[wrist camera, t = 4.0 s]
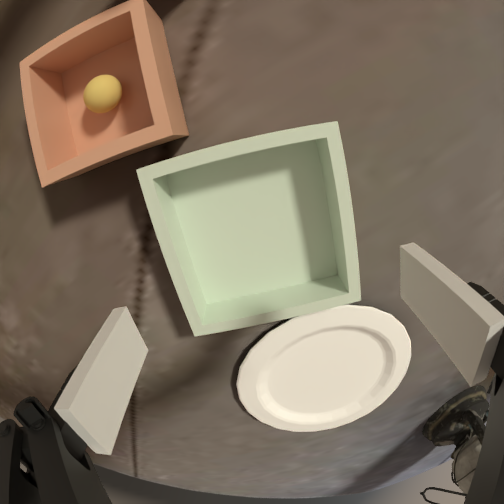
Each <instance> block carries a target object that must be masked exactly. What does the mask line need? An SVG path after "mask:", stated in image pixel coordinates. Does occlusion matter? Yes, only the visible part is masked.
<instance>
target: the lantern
mask: <svg viewBox="0 0 504 504" xmlns="http://www.w3.org/2000/svg"><path fill="white" fill-rule="evenodd" d="M486 397H487V395H486V391H485V388H484V387H483V386H474V387H471V388H469V389H466V390H464V391H463V392H461V393H459V394H458V395H456V396H454V397H453V398H452V399H450V400H449V401H448V402H446V403H445V404H444V405H443V406H442V407H441V408H439V409H438V410H437V411H436V412H435V413H434V414H433V415H432V416H431V418H430V419H429V420H428V421H427V423H426V424H425V426H424V429H423V435H424V436H425V437H426V438H428V439H429V440H431V441H433V443H434V445H435V446H445V445H451V444H454V445H456V448H455V450H454V452H453V453H452V455H451V458H452V459H454V461H453V463H452V473H451V476H452V481H453V483H455V484H456V485H457V486H459V488H460V489H461V490H462V491H463V493H459V492H454V491H449V490H445V489H440V488H435V487H429V488H426V489H425V490H424V492H421V493H420V494H421V495H423V497H424V499H425V500H426V501H427V502H429V503H431V504H438V503H434V502H431V501H429V500H427V499H426V497H425V495H424V493H425V492H426V490H429V489H434V490H440V491H444V492H448V493H453V494H458V495H463V496H467V494H468V491H469V488H470V485H471V482H472V479H473V476H474V472H475V469H476V465H477V462H478V458H479V454H480V451H481V446H482V442H483V438H484V433H485V428H486V427H485V425H484V423H485V422H486V421H487V418H488V412H489V410H488V408H489V403H488V401H487V400H486ZM453 474H454V479H453ZM454 480H455V481H454ZM457 483H458V484H457ZM465 499H466V497H465Z"/></svg>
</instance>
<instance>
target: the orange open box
mask: <svg viewBox="0 0 504 504" xmlns="http://www.w3.org/2000/svg"><path fill="white" fill-rule="evenodd" d="M20 74H21V84H22V93H23V101H24V107H25V114H26V120H27V125H28V131H29V136H30V141H31V146H32V150H33V154H34V159H35V163H36V167H37V171H38V174H39V178H40V182H41V185H42V188H43V187H45V186H48V185H51V184H54V183H57V182H60V181H63V180H66V179H69V178H73V177H76V176H79V175H81V174H83V173H85V172H88V171H90V170H93V169H95V168H97V167H100V166H102V165H105V164H107V163H110V162H112V161H115V160H118V159H120V158H123V157H126V156H128V155H131V154H134V153H137V152H139V151H142V150H145V149H148V148H151V147H154V146H157V145H160V144H163V143H166V142H169V141H173V140H176V139H179V138H182V137H186V136H189V132H188V128H187V124H186V120H185V116H184V112H183V108H182V104H181V100H180V96H179V92H178V88H177V84H176V79H175V75H174V71H173V67H172V63H171V58H170V54H169V50H168V45H167V41H166V36H165V32H164V27H163V23H162V20H161V19H160V17H159V16H158V15H157V14H156V12H155V11H154V10H153V8H152V7H151V6H150V5H149V3H148V2H147V1H146V0H129V1H126V2H124V3H121V4H119V5H117V6H115V7H112V8H110V9H108V10H106V11H104V12H102V13H100V14H98V15H96V16H94V17H92V18H90V19H88V20H86V21H84V22H82V23H80V24H78V25H77V26H75V27H73V28H71V29H70V30H68V31H66V32H64V33H63V34H61V35H59V36H58V37H56V38H55V39H53V40H51V41H50V42H48V43H47V44H45V45H44V46H42V47H41V48H39V49H38V50H36V51H35V52H33V53H32V54H31V55H29V56H28V57H26V58H25V59H24V60H22V61H21V62H20ZM100 75H111V76H113V77H115V78H117V79H118V81H119V82H120V84H121V86H122V97H121V99H120V102H119V103H118V104H117V106H116V107H115V108H113V109H112V110H111V111H109V112H106V113H95V112H92V111H91V110H89V109H88V108H87V107H86V105H85V103H84V100H83V94H84V90H85V87H86V86H87V84H88V83H89V82H90V81H91V80H92V79H93V78H95V77H97V76H100Z"/></svg>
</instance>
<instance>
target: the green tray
mask: <svg viewBox="0 0 504 504" xmlns="http://www.w3.org/2000/svg"><path fill="white" fill-rule="evenodd" d="M136 171H137V175H138V178H139V182H140V185H141V189H142V192H143V195H144V199H145V202H146V205H147V208H148V211H149V214H150V218H151V221H152V224H153V227H154V230H155V233H156V236H157V239H158V242H159V245H160V247H161V250H162V253H163V256H164V259H165V262H166V264H167V267H168V270H169V273H170V275H171V278H172V281H173V283H174V286H175V289H176V291H177V294H178V296H179V299H180V302H181V304H182V307H183V309H184V312H185V314H186V317H187V319H188V322H189V324H190V326H191V329H192V331H193V334H194V336H201V335H207V334H212V333H218V332H224V331H229V330H234V329H240V328H245V327H250V326H255V325H260V324H265V323H269V322H274V321H279V320H283V319H288V318H292V317H297V316H301V315H305V314H310V313H314V312H318V311H322V310H326V309H330V308H334V307H338V306H342V305H346V304H350V303H353V302H357V301H361V292H360V277H359V264H358V253H357V243H356V233H355V225H354V216H353V209H352V201H351V194H350V188H349V181H348V175H347V169H346V163H345V157H344V152H343V146H342V141H341V136H340V131H339V126H338V121H335V122H329V123H322V124H316V125H310V126H304V127H298V128H293V129H287V130H282V131H277V132H272V133H267V134H263V135H258V136H254V137H249V138H245V139H241V140H236V141H232V142H228V143H224V144H220V145H216V146H213V147H209V148H205V149H201V150H198V151H194V152H191V153H187V154H184V155H180V156H177V157H174V158H170V159H167V160H164V161H161V162H158V163H155V164H152V165H149V166H146V167H143V168H140V169H137V170H136Z"/></svg>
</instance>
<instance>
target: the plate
mask: <svg viewBox="0 0 504 504" xmlns="http://www.w3.org/2000/svg"><path fill="white" fill-rule="evenodd" d="M410 358H411V340H410V338H409V336H408V334H407V331H406V329H405V327H404V326H403V325H402V324H401V323H400V322H399V321H398V320H397V319H396V318H395V317H394V316H393V315H391V314H390V313H388V312H385V311H383V310H380V309H378V308H375V307H373V306H364V305H354V304H346V305H342V306H338V307H334V308H330V309H326V310H322V311H318V312H314V313H310V314H305V315H301V316H297V317H292V318H291V319H289V320H287V321H286V322H284V323H282V324H280V325H279V326H277V327H275V328H274V329H272V330H270V331H269V332H267V333H266V334H265V335H264V336H263V337H262V338H261V339H260V340H259V341H258V342H257V343H256V344H255V345H254V346H253V347H252V348H250V350H249V352H248V353H247V355H246V357H245V358H244V360H243V362H242V363H241V365H240V368H239V373H238V378H237V383H236V385H237V390H238V395H239V400H240V401H241V403H242V404H243V405H244V407H245V408H246V410H247V411H248V412H249V413H250V414H251V415H252V416H254V417H255V418H256V419H258V420H259V421H260V422H263V423H265V424H268V425H270V426H272V427H275V428H278V429H283V430H289V431H295V432H309V431H320V430H326V429H331V428H335V427H338V426H341V425H344V424H347V423H350V422H352V421H354V420H356V419H358V418H360V417H362V416H364V415H366V414H368V413H370V412H371V411H372V410H374V409H375V408H376V407H378V406H379V405H380V404H382V403H383V402H384V401H385V400H386V399H387V398H388V397H389V396H390V395H391V394H392V393H393V392H394V391H395V389H396V388H397V387H398V385H399V384H400V382H401V380H402V379H403V377H404V375H405V374H406V372H407V369H408V365H409V362H410Z"/></svg>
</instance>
